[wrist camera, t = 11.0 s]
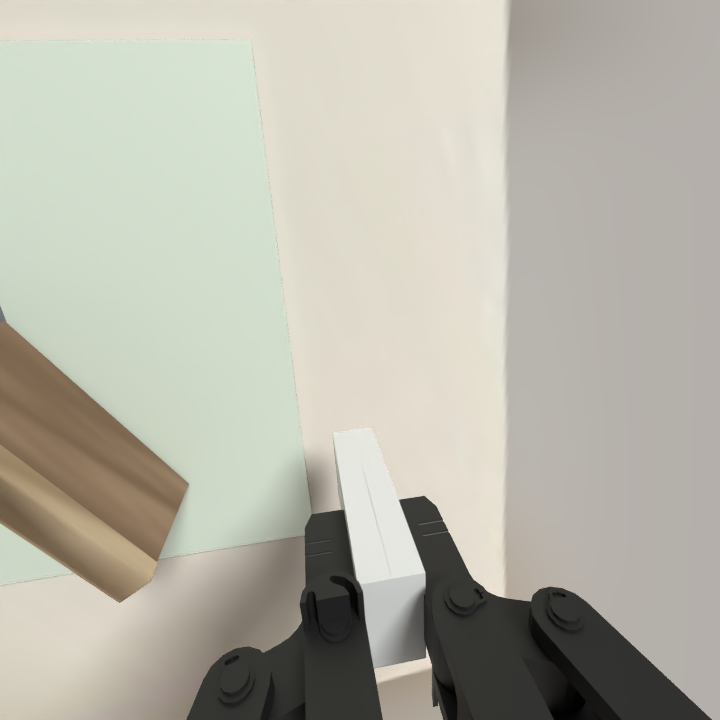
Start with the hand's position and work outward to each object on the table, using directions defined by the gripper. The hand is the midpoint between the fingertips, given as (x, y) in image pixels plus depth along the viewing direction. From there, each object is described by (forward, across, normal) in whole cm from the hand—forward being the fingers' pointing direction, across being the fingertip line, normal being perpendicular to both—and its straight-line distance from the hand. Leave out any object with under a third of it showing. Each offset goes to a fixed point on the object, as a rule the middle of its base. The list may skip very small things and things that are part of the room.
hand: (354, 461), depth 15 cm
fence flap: (+4, -11, +1) cm, 12 cm away
